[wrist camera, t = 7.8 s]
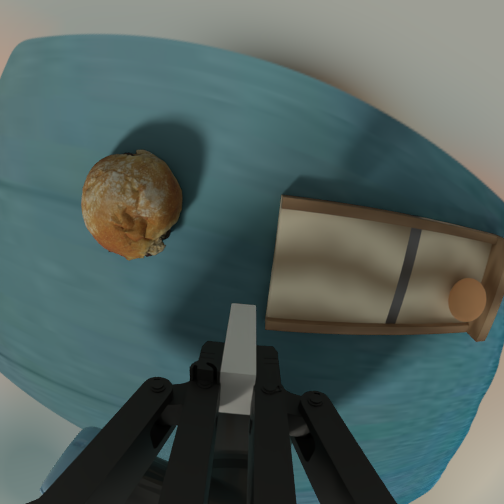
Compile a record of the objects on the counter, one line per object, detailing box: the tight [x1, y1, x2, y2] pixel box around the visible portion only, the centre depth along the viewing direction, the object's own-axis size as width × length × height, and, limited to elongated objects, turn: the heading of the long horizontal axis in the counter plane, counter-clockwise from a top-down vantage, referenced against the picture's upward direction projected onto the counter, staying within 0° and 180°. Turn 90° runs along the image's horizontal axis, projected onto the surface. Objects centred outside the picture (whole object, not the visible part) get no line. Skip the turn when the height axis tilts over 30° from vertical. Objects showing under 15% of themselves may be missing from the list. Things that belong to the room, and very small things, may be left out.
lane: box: [265, 195, 504, 342], centre depth 25 cm, size 13×29×4 cm, turn 84°
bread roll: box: [81, 150, 182, 261], centre depth 24 cm, size 10×10×8 cm
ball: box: [448, 278, 486, 322], centre depth 24 cm, size 5×5×5 cm
